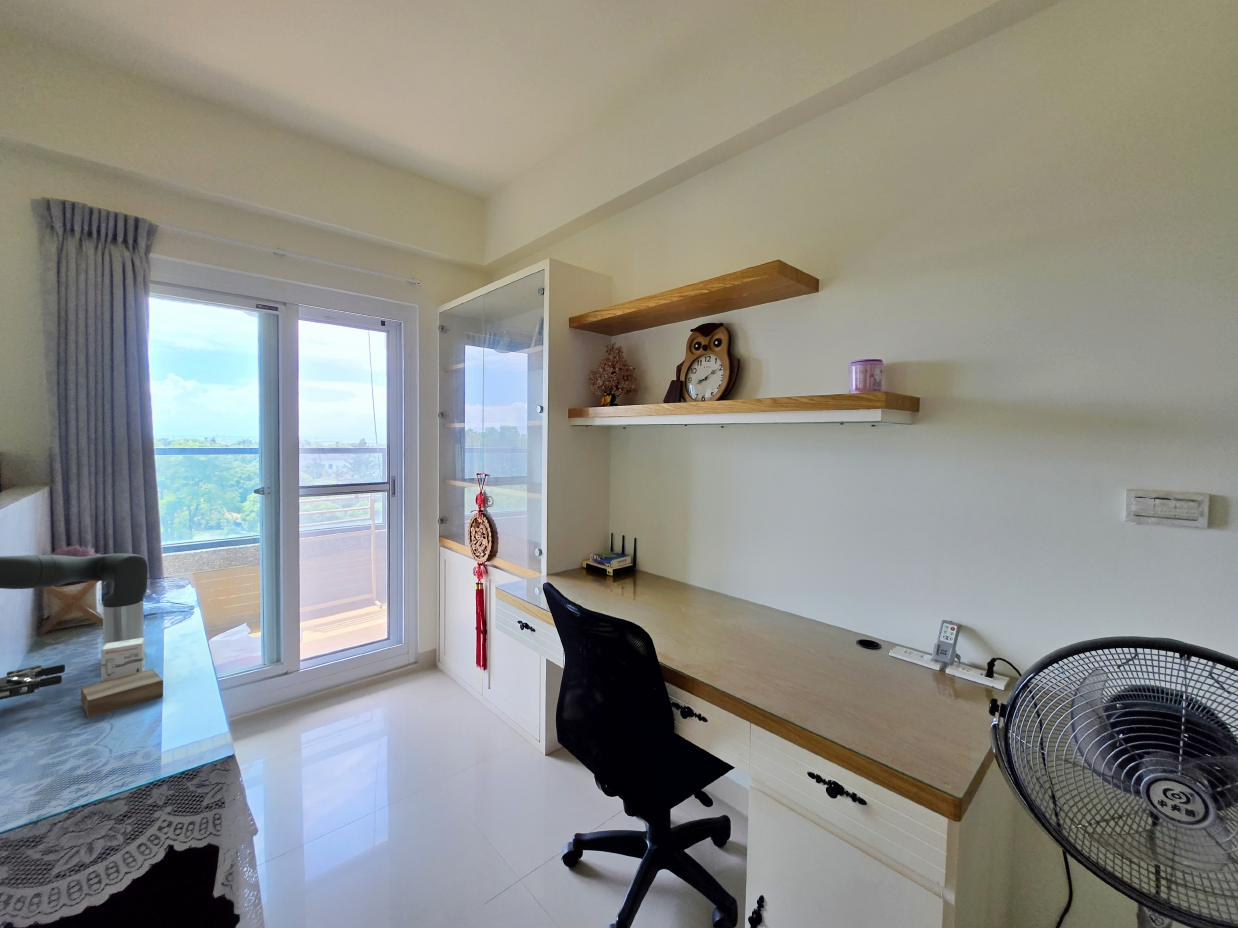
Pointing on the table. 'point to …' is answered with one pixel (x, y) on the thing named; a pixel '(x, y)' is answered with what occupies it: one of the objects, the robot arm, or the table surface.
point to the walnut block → (121, 693)
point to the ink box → (122, 658)
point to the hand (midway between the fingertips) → (63, 673)
